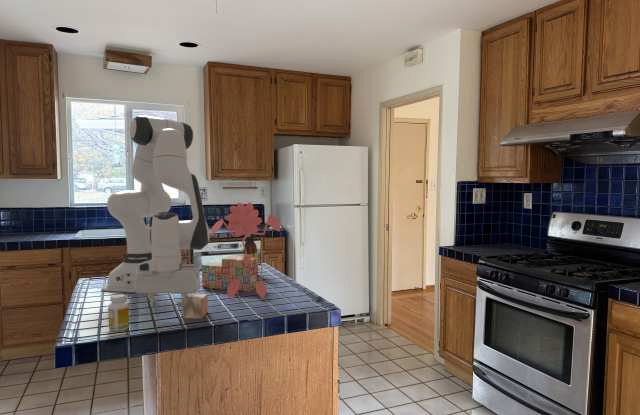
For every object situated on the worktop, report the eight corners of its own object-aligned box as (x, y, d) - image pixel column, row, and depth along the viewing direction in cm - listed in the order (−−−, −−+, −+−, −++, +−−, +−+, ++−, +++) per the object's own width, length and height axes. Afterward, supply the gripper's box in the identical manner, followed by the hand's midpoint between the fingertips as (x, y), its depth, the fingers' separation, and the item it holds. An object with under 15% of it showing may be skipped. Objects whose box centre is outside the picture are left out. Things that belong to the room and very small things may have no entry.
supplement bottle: (131, 325, 133) (130, 293, 133) (126, 331, 128) (125, 297, 127) (112, 326, 133) (111, 293, 132) (106, 332, 127) (105, 298, 127)
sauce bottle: (254, 273, 204) (254, 230, 202) (260, 276, 199) (260, 231, 197) (241, 275, 200) (240, 231, 199) (247, 277, 195) (246, 232, 194)
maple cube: (182, 299, 139) (202, 299, 139) (189, 294, 145) (207, 294, 145) (183, 318, 140) (202, 318, 139) (189, 312, 146) (207, 312, 145)
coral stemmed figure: (215, 294, 168) (213, 201, 165) (283, 295, 166) (282, 201, 163) (202, 306, 153) (199, 204, 150) (276, 308, 151) (275, 204, 148)
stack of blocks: (201, 288, 178) (201, 257, 177) (210, 284, 184) (209, 254, 183) (250, 291, 172) (249, 260, 171) (257, 288, 178) (257, 257, 177)
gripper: (202, 261, 144) (203, 304, 145) (139, 262, 145) (141, 304, 146) (196, 265, 138) (197, 309, 139) (131, 265, 139) (132, 309, 140)
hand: (168, 306), depth 142 cm, fingers open, 7 cm apart
